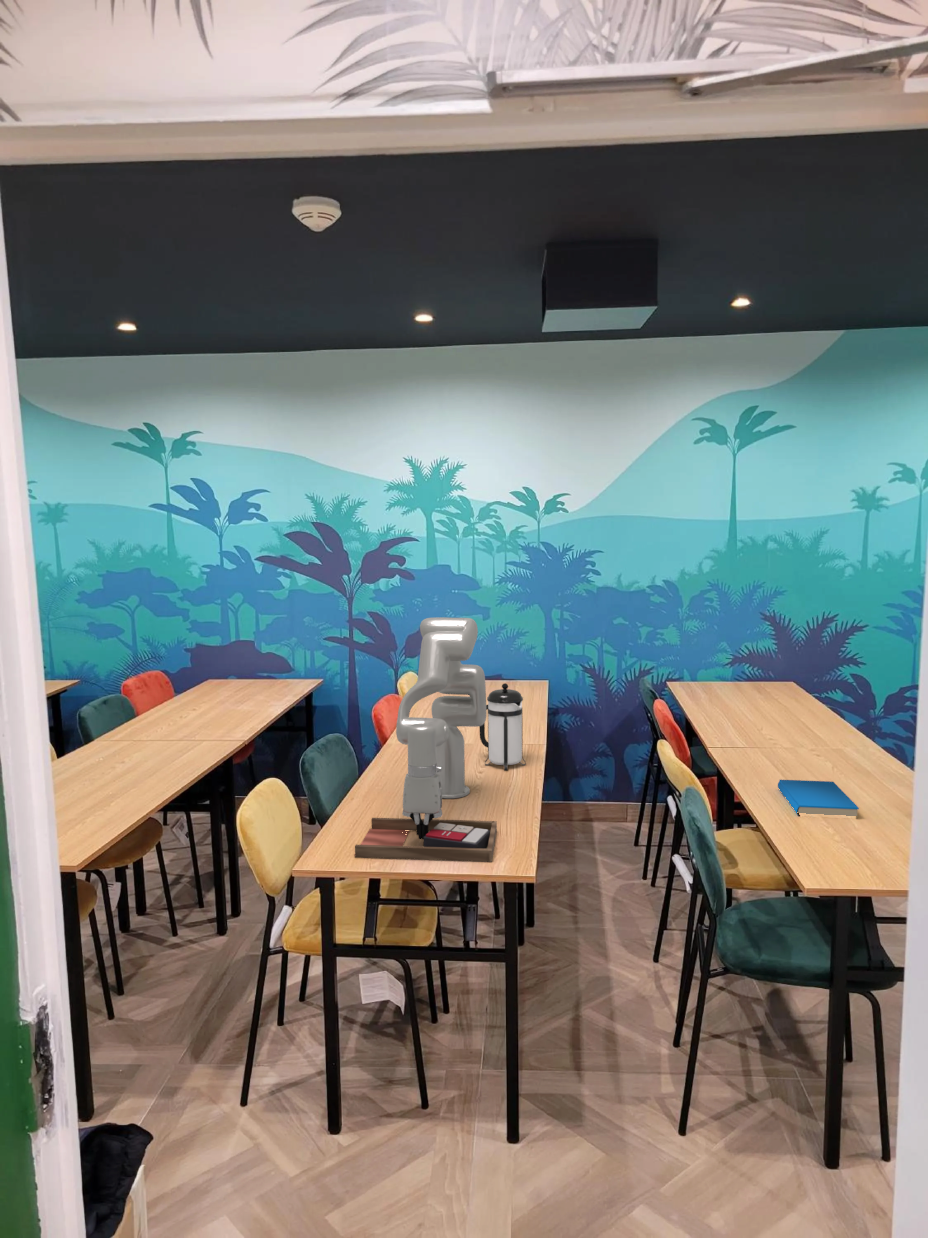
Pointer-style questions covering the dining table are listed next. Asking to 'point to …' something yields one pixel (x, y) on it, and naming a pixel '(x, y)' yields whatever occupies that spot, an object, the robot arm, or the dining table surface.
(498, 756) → the coffee press
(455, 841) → the calculator
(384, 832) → the brown wooden tray
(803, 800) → the book
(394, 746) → the dining table surface
